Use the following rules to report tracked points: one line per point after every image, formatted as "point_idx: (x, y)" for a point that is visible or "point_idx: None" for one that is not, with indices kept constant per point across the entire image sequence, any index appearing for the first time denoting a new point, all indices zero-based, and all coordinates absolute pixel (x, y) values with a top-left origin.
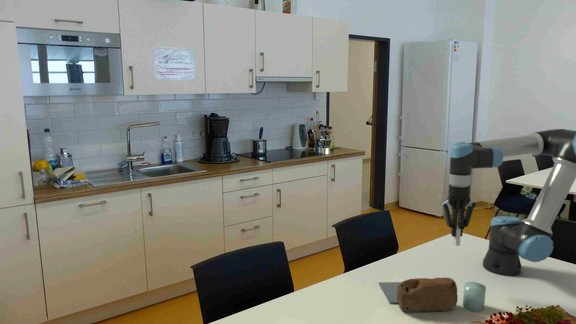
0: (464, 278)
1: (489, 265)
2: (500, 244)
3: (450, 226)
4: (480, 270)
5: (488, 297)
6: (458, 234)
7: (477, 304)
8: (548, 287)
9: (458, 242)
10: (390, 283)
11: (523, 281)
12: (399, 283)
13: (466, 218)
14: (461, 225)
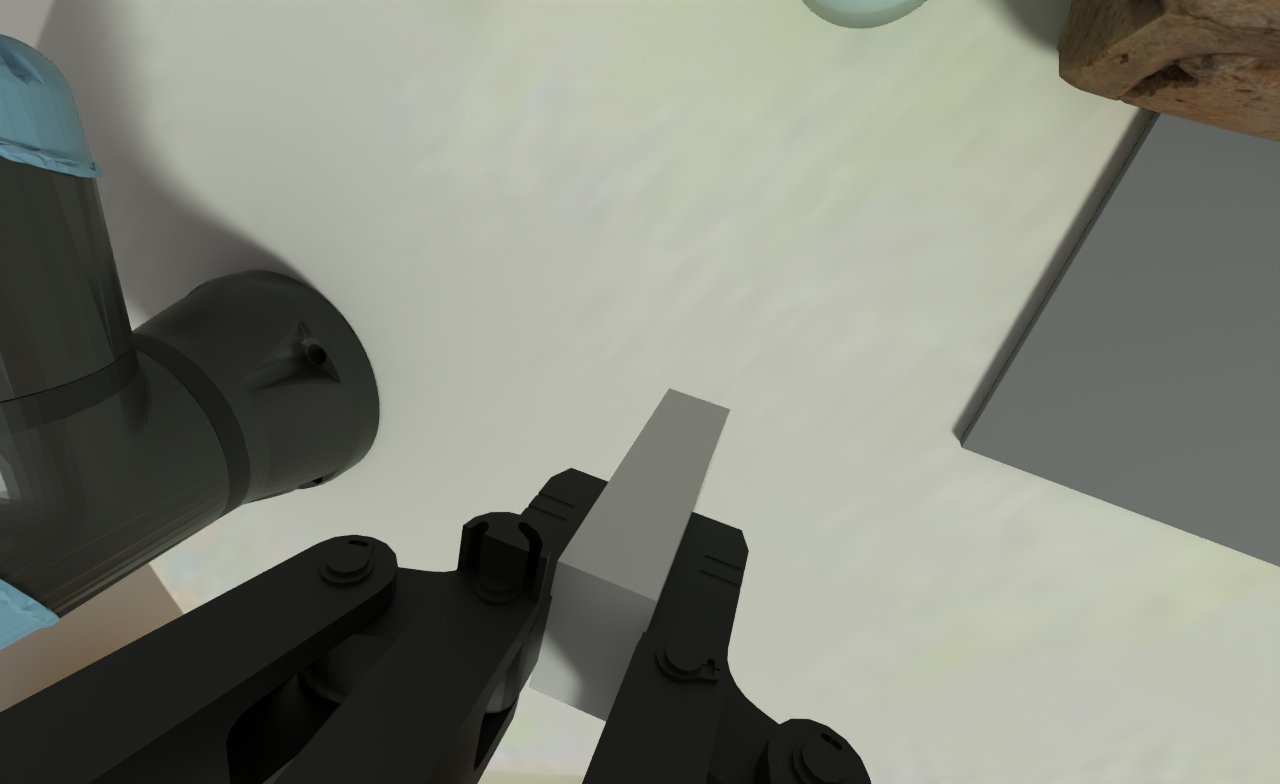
0: (583, 367)
1: (348, 395)
2: (147, 421)
3: (842, 767)
4: (417, 409)
5: (622, 52)
6: (648, 501)
7: None
8: (164, 60)
9: (681, 418)
10: (1256, 533)
11: (260, 187)
12: (1171, 500)
13: (150, 778)
14: (485, 633)
